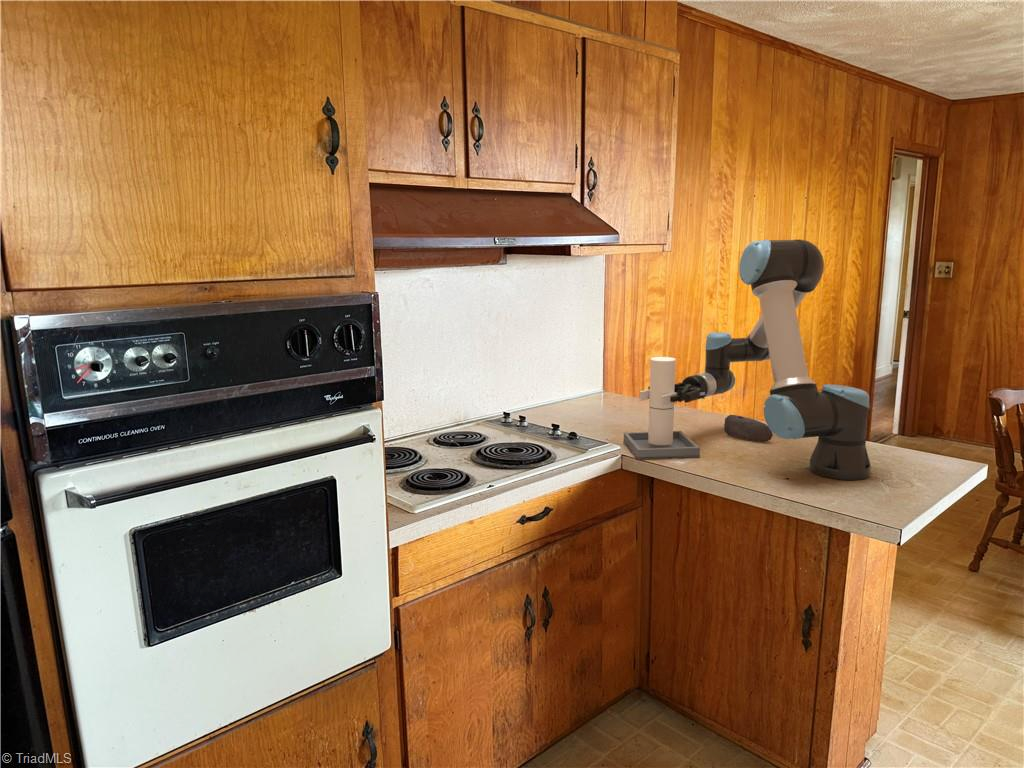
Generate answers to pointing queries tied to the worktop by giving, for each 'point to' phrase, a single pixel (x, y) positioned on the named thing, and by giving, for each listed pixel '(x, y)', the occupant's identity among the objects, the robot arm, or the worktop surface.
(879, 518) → the worktop surface
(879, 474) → the worktop surface
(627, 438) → the slate tray
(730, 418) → the perforated stone tool
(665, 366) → the cylindrical container
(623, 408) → the worktop surface
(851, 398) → the robot arm
